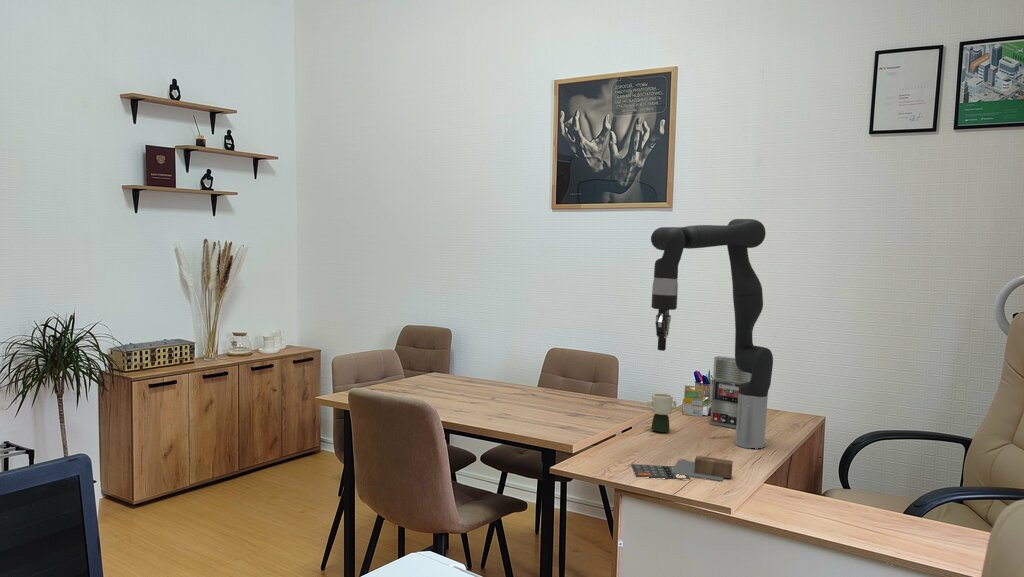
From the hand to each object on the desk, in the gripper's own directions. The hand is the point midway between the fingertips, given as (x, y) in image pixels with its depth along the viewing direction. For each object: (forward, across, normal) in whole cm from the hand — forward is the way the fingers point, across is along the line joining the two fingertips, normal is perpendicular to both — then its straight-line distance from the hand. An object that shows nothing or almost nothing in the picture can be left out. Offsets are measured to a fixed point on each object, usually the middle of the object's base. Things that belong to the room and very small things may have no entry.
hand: (661, 350), depth 220 cm
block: (+31, -10, -13) cm, 35 cm away
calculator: (+34, -15, -4) cm, 37 cm away
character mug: (+33, +33, +4) cm, 47 cm away
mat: (+33, -8, -14) cm, 37 cm away
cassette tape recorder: (+33, +55, -18) cm, 67 cm away
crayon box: (+33, +67, -3) cm, 75 cm away
